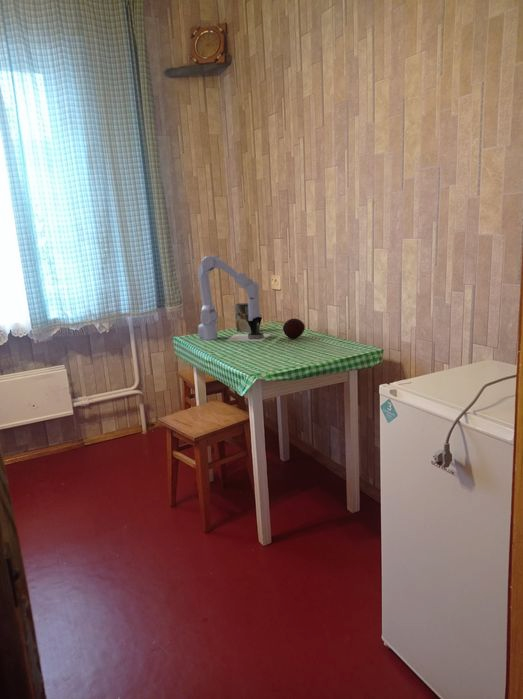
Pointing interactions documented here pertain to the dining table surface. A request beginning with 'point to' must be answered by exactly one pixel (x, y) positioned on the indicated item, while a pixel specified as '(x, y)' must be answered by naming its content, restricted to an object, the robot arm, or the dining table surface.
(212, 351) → the dining table surface
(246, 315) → the coffee box
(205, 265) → the robot arm
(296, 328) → the coconut
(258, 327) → the lens
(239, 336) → the mount board
